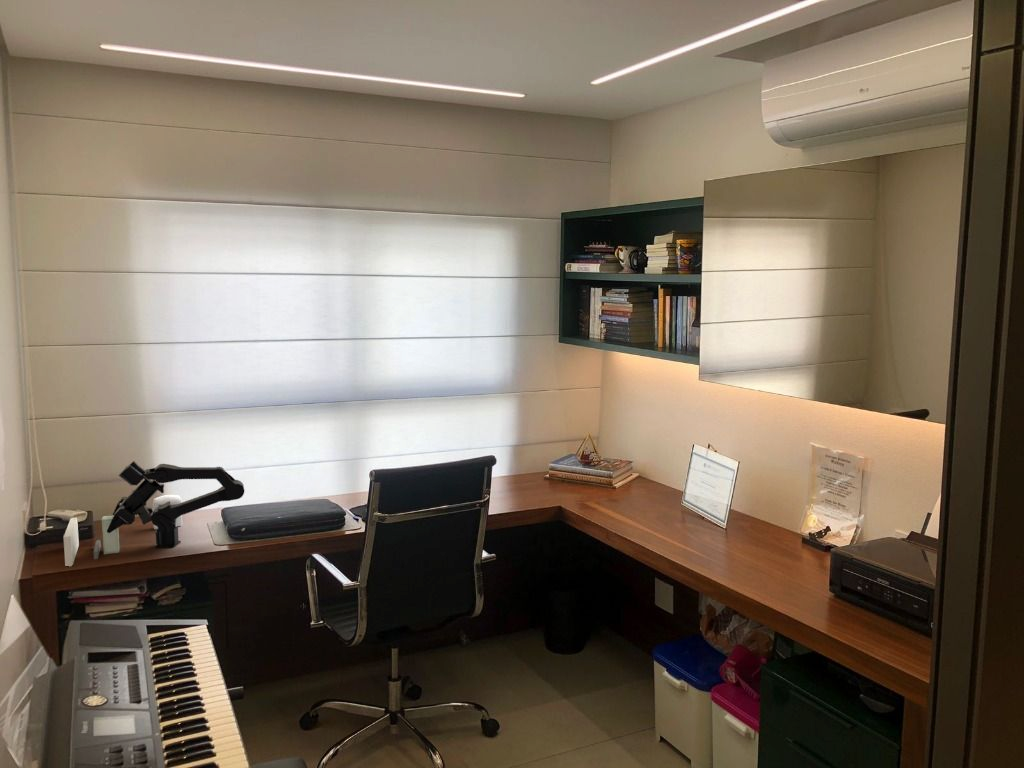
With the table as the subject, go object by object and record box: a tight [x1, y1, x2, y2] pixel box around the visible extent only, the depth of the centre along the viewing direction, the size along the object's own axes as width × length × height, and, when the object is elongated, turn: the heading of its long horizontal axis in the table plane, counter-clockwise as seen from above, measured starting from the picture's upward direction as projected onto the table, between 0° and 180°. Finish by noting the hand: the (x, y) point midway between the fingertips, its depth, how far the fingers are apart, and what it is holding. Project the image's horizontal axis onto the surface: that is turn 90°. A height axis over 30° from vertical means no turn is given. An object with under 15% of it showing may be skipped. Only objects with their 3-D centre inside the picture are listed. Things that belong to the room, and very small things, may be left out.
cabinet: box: [101, 514, 120, 555], centre depth 283 cm, size 5×5×12 cm
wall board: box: [63, 517, 102, 567], centre depth 280 cm, size 9×24×10 cm, turn 23°
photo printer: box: [152, 494, 183, 530], centre depth 313 cm, size 10×4×12 cm, turn 123°
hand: (108, 528), depth 284 cm, fingers open, 9 cm apart
